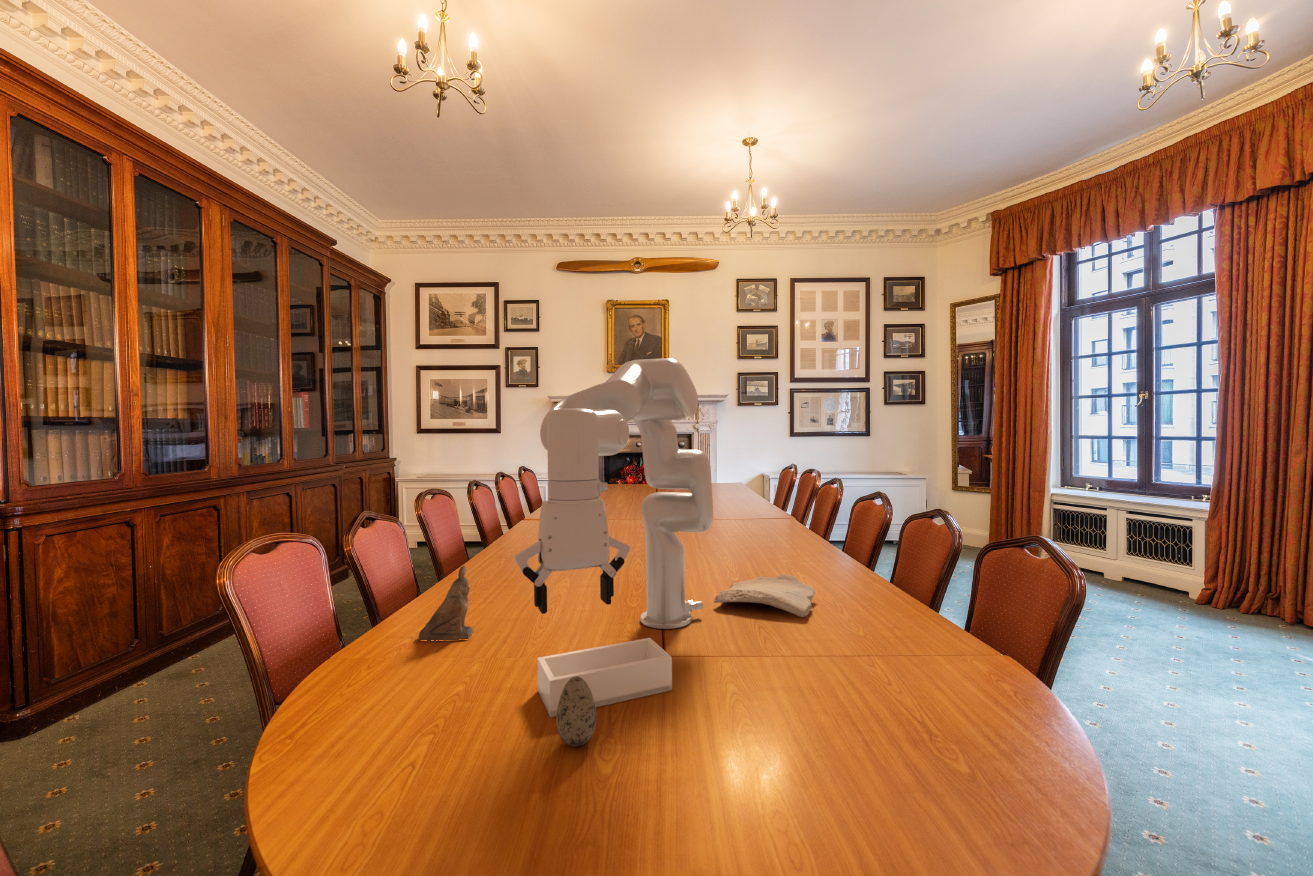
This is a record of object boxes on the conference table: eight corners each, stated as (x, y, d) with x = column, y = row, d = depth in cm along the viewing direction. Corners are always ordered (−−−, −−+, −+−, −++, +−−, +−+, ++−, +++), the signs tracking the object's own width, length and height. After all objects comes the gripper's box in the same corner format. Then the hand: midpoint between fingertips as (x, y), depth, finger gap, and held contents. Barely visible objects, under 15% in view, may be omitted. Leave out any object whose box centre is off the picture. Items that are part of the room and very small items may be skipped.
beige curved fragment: (733, 592, 158) (711, 606, 140) (735, 567, 158) (712, 577, 140) (818, 606, 147) (806, 623, 129) (819, 579, 148) (807, 591, 130)
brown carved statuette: (474, 644, 125) (489, 568, 125) (464, 653, 120) (480, 574, 120) (425, 632, 126) (441, 557, 126) (414, 641, 120) (430, 563, 120)
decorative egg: (598, 732, 83) (597, 667, 83) (595, 755, 77) (594, 685, 77) (559, 733, 83) (558, 668, 82) (553, 756, 77) (552, 687, 77)
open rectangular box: (650, 668, 105) (649, 637, 105) (672, 690, 96) (671, 656, 96) (538, 691, 96) (537, 657, 96) (550, 717, 87) (549, 681, 87)
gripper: (619, 486, 86) (621, 592, 87) (510, 492, 80) (511, 607, 80) (636, 490, 80) (638, 605, 80) (518, 497, 73) (519, 623, 73)
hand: (574, 606), depth 80 cm, fingers open, 9 cm apart
